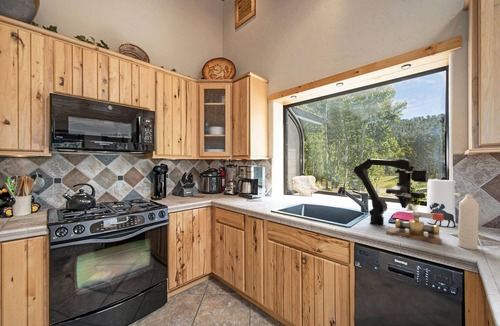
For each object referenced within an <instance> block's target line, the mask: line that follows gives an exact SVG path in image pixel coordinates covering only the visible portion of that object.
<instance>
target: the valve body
mask: <svg viewBox="0 0 500 326" xmlns="http://www.w3.org/2000/svg"><path fill="white" fill-rule="evenodd" d="M394 227H396V228H399V232H403V233H405V229H407V230H409V233H410V234H412V235H416V236H424V233H428V237H430V238H434V235H440V225H437V224H436V225H435V224H433V225H428V224H425V222H424V221H421V220H420V217H413V219H409V220H408V221H404V220H401V219H399V218H398V219H397V218H396V219H395V225H394Z"/></svg>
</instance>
